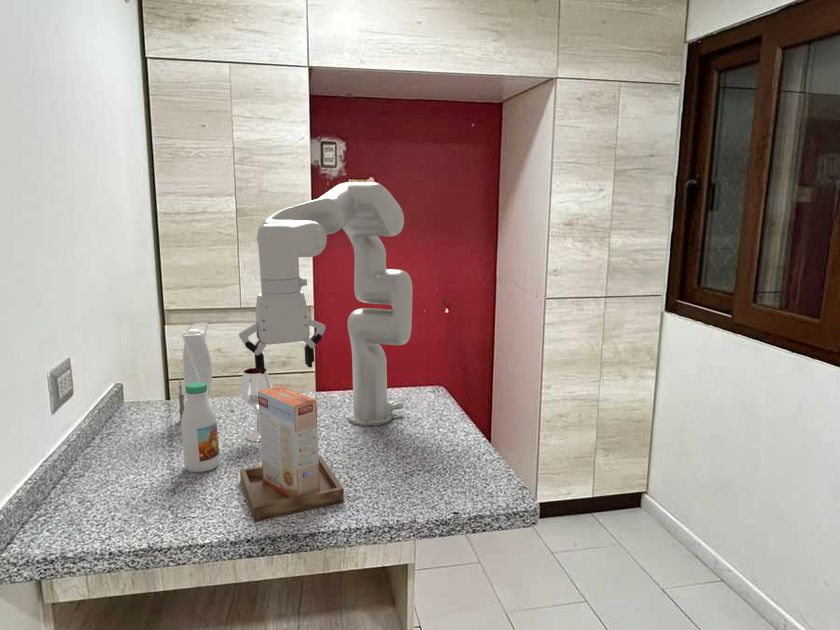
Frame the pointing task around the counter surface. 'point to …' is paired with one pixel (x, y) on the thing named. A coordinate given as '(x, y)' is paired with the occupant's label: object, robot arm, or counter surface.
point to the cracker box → (289, 441)
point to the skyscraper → (195, 362)
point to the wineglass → (254, 393)
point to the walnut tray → (276, 504)
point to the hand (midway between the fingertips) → (285, 368)
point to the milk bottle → (199, 430)
